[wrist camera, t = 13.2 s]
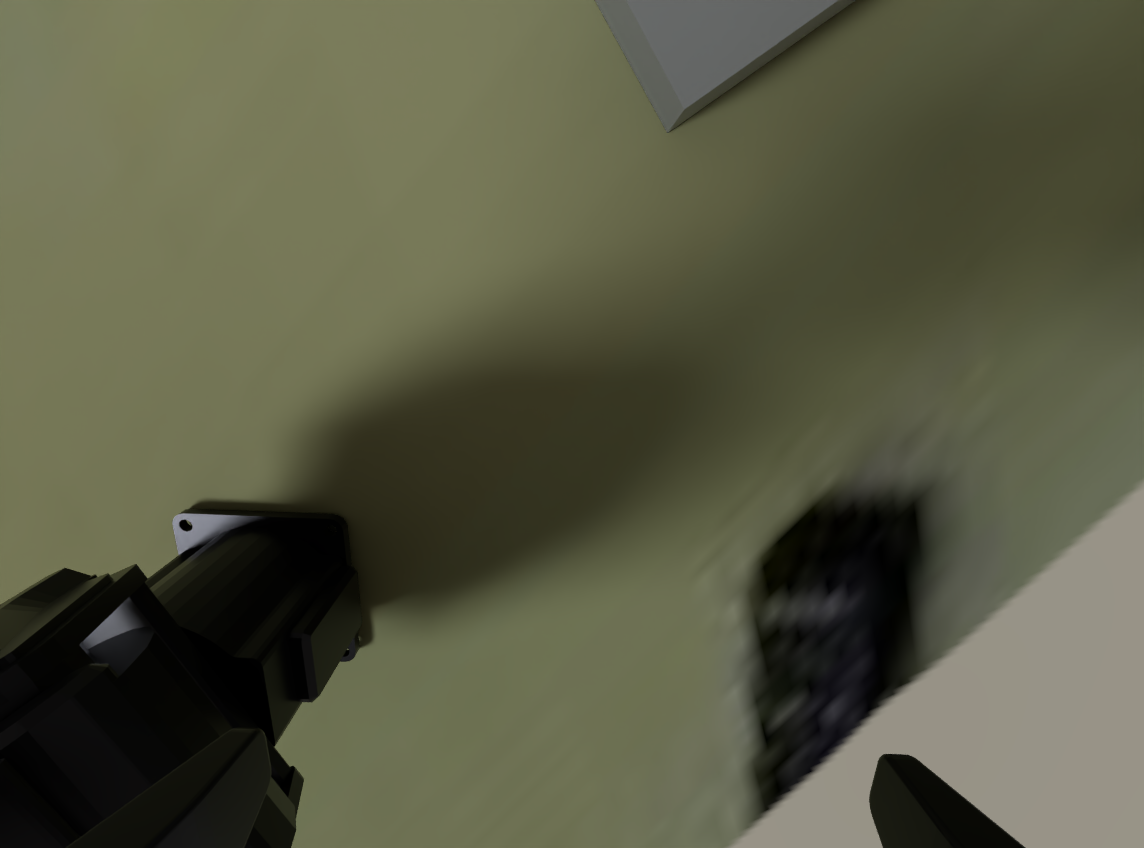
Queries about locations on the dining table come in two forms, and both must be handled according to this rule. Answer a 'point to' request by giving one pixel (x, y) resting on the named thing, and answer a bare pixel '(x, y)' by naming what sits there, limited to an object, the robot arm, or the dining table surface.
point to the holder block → (706, 44)
